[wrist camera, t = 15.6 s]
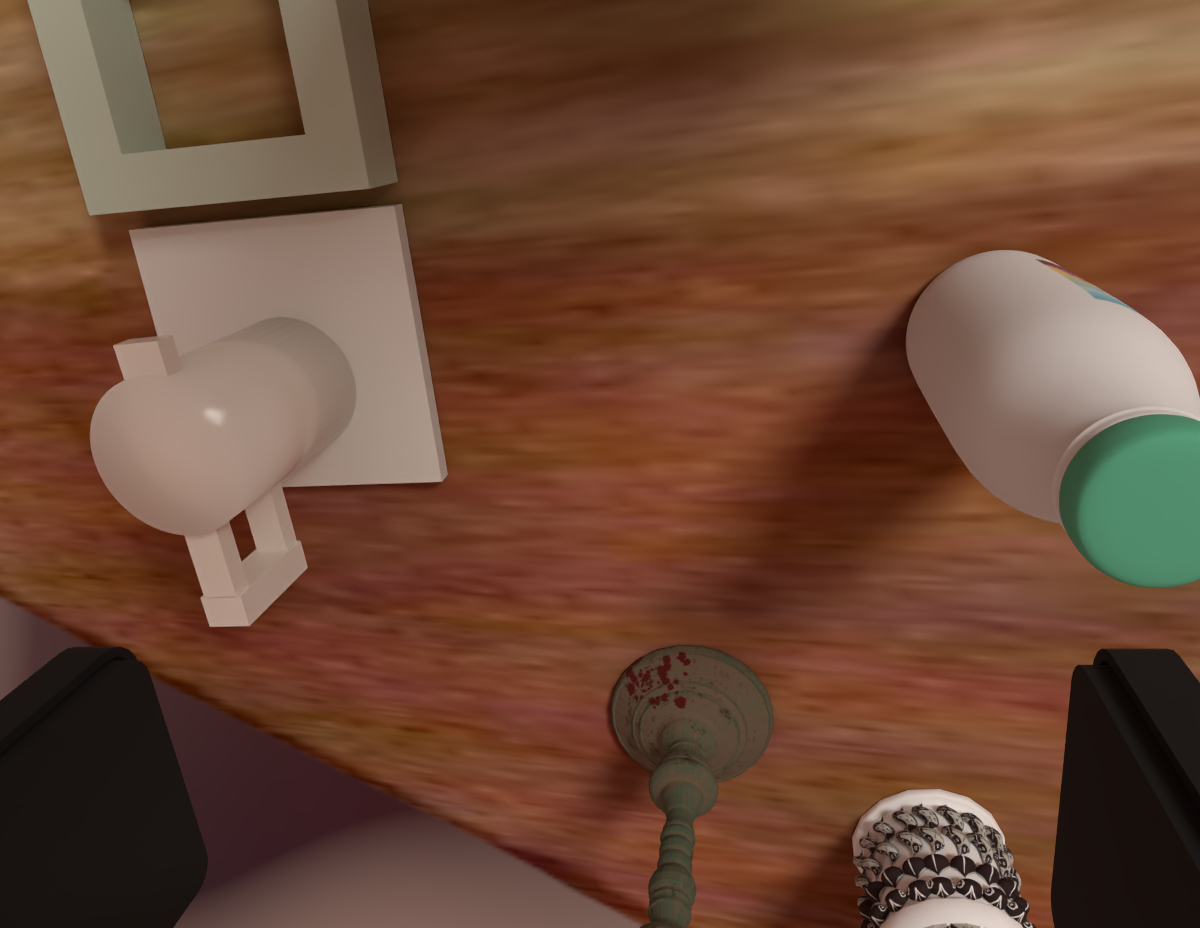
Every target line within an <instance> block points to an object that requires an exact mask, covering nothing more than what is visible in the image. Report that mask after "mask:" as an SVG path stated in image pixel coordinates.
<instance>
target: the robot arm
mask: <svg viewBox="0 0 1200 928" xmlns="http://www.w3.org/2000/svg"><path fill="white" fill-rule="evenodd" d="M207 860H208V859H207V852H206V849H205V846H204V842H203V839H202V836H201V833H200V830H199V827H198V824H197V820H196V818H195V814H194V811H193V808H192V805H191V802H190V799H189V795H188V792H187V789H186V786H185V783H184V780H183V777H182V773H181V770H180V767H179V765H178V761H177V758H176V755H175V751H174V748H173V745H172V742H171V739H170V736H169V733H168V729H167V726H166V723H165V720H164V717H163V714H162V711H161V707H160V704H159V702H158V699H157V695H156V692H155V689H154V685H153V682H152V679H151V676H150V673H149V671H148V669H147V667H146V666H145V665H144V664H143V663H142V662H139V661H137V659H136V657H135V655H134V654H133V653H132V652H131V651H129V650H128V649H125V648H122V647H73V648H68V649H66V650H64V651H63V652H61V653H59V654H58V655H57V656H56V657H54V658H53V659H52V660H51V661H49V662H48V663H47V664H46V665H44V666H43V667H42V668H41V669H39V670H38V671H37V672H35V673H34V674H33V675H32V676H30V677H29V678H28V679H27V680H26V681H24V682H23V683H22V684H20V685H19V686H18V687H17V688H15V689H14V690H13V691H12V692H11V693H9V694H8V695H7V696H5V697H4V698H3V699H2V700H0V928H173V927H174V926H175V924H176V923H177V922H178V920H179V919H180V917H181V916H182V914H183V913H184V911H185V910H186V909H187V907H188V906H189V904H190V903H191V902H192V900H193V899H194V897H195V896H196V895H197V893H198V891H199V890H200V888H201V886H202V884H203V881H204V878H205V876H206V871H207ZM1051 908H1052V916H1053V922H1054V926H1055V928H1200V683H1199V681H1198V680H1197V679H1196V677H1195V676H1194V675H1193V673H1192V672H1191V671H1190V669H1189V668H1188V667H1187V665H1186V664H1185V663H1184V661H1183V660H1182V659H1181V657H1180V656H1179V655H1178V654H1177V653H1176V652H1175V651H1174V650H1170V649H1101V650H1099V651H1098V652H1097V654H1096V656H1095V658H1094V662H1093V665H1078V666H1076V667H1075V669H1074V671H1073V675H1072V681H1071V691H1070V701H1069V712H1068V722H1067V732H1066V743H1065V753H1064V763H1063V773H1062V784H1061V794H1060V804H1059V815H1058V825H1057V835H1056V845H1055V856H1054V866H1053V876H1052V887H1051Z"/></svg>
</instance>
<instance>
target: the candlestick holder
mask: <svg viewBox="0 0 1200 928" xmlns="http://www.w3.org/2000/svg"><path fill="white" fill-rule="evenodd" d="M611 709H612V722H613V727H614V729H615V732H616V734H617V737H618V739H619V742H620V743H621V745H622V746H623V747H624V749H625V750H626V751H627V753H628V754H629V755H630V757H631V758H633V759H634V760H635V761H636V762H638V763H639V764H640V765H641V766H642V767H644V768H645V769H646V770H648V771H650V772H652V774H651V776H650V780H649V793H650V795H651V798H652V801H653V802H654V803H655V804H656V806H657V807H658V808H659V809H661V810H662V811H663V812H664V813H665V814H666V817H667V819H666V823H665V825H664V827H663V831H662V833H661V836H660V841H661V845H660V848H659V855H660V857H659V860H658V863H657V870H656V871H655V872H654V873H653V875H652V877H651V879H650V881H649V885H648V889H649V899H650V901H649V909H648V916H649V919H650V921H651V923H648V924H645V925H643V926H641V927H640V928H686V927H687V926H688V924H689V923H690V920H691V910H692V905H693V903H694V900H695V896H696V887H695V882H694V879H693V877H692V876H691V872H692V863H691V862H692V858H693V847H694V845H695V837H694V829H693V821H694V819H695V818H696V817H699V816H701V815H704V814H705V813H707V812H708V811H709V810H711V808H712V807H713V805H714V804H715V803H716V800H717V797H718V785H717V782H722V781H725V780H728V779H730V778H732V777H735V776H737V775H740V774H742V773H743V772H744V771H746V770H747V769H748V768H749V767H751V766H752V765H753V764H755V763H756V762H757V760H758V759H759V758H760V756H761V755H762V753H763V752H764V751H765V749H766V748H767V745H768V742H769V739H770V736H771V733H772V730H773V708H772V705H771V702H770V699H769V696H768V693H767V691H766V689H765V688H764V687H763V685H762V684H761V682H760V681H759V679H758V678H757V676H756V675H755V674H754V673H753V672H752V671H751V670H749V669H748V668H747V667H746V666H745V665H744V664H742V663H741V662H740V661H738V660H736V659H734V658H733V657H731V656H729V655H727V654H725V653H723V652H721V651H717V650H713V649H709V648H705V647H701V646H679V645H677V646H673V647H668V648H663V649H658V650H656V651H654V652H652V653H649V654H647V655H645V656H643V657H641V658H639V659H638V660H637V661H636V662H635V663H634V664H633V665H631V666H630V667H629V668H628V669H627V670H626V671H625V672H624V673H623V675H622V677H621V678H620V680H619V682H618V683H617V685H616V687H615V690H614V694H613V699H612V703H611Z"/></svg>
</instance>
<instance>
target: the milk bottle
mask: <svg viewBox="0 0 1200 928" xmlns="http://www.w3.org/2000/svg"><path fill="white" fill-rule="evenodd" d="M906 353H907V358H908V363H909V366H910V368H911V371H912V374H913V376H914V378H915V380H916V382H917V384H918V386H919V388H920V390H921V392H922V394H923V395H924V397H925V399H926V401H927V403H928V404H929V406H930V408H931V410H932V412H933V413H934V415H935V417H936V419H937V421H938V422H939V424H940V426H941V427H942V429H943V431H944V433H945V434H946V436H947V438H948V439H949V441H950V443H951V444H952V446H953V448H954V449H955V451H956V453H957V454H958V455H959V457H960V458H961V460H962V461H963V463H964V464H965V465H966V467H967V468H968V470H969V471H970V472H971V473H972V475H973V476H974V477H975V478H976V479H977V480H978V481H979V482H980V483H981V484H982V485H983V486H984V487H985V488H986V489H987V490H988V491H990V492H991V493H992V494H993V495H994V496H996V497H997V498H999V499H1000V500H1002V501H1003V502H1005V503H1006V504H1008V505H1010V506H1011V507H1013V508H1015V509H1017V510H1019V511H1021V512H1023V513H1026V514H1028V515H1031V516H1034V517H1036V518H1040V519H1043V520H1046V521H1051V522H1056V523H1060V525H1061V526H1062V528H1063V529H1064V530H1065V532H1066V533H1067V534H1068V535H1069V537H1070V539H1071V540H1072V542H1073V544H1074V545H1075V546H1076V548H1077V549H1078V550H1079V552H1080V553H1081V554H1082V555H1083V556H1084V557H1085V559H1086V560H1087V561H1088V562H1089V563H1090V564H1091V565H1093V566H1094V567H1095V568H1096V569H1098V570H1099V571H1101V572H1102V573H1104V574H1106V575H1108V576H1110V577H1112V578H1113V579H1116V580H1118V581H1120V582H1123V583H1126V584H1129V585H1134V586H1138V587H1146V588H1167V587H1175V586H1180V585H1185V584H1188V583H1192V582H1195V581H1197V580H1200V398H1199V394H1198V390H1197V386H1196V382H1195V380H1194V377H1193V374H1192V372H1191V370H1190V368H1189V366H1188V365H1187V363H1186V361H1185V359H1184V357H1183V356H1182V354H1181V353H1180V351H1179V350H1178V348H1177V347H1176V346H1175V345H1174V344H1173V343H1172V342H1171V341H1170V339H1169V338H1168V337H1167V336H1166V335H1165V334H1164V333H1163V332H1162V331H1161V330H1160V329H1159V328H1158V327H1157V326H1155V325H1154V324H1153V323H1152V322H1150V321H1149V320H1147V319H1146V318H1145V317H1143V316H1142V315H1140V314H1139V313H1138V312H1136V311H1135V310H1133V309H1132V308H1131V307H1129V306H1128V305H1126V304H1124V303H1123V302H1121V301H1119V300H1118V299H1116V298H1114V297H1113V296H1111V295H1109V294H1108V293H1106V292H1104V291H1103V290H1101V289H1099V288H1098V287H1096V286H1094V285H1092V284H1091V283H1089V282H1087V281H1085V280H1084V279H1082V278H1080V277H1078V276H1077V275H1075V274H1073V273H1071V272H1069V271H1068V270H1066V269H1064V268H1062V267H1060V266H1059V265H1057V264H1055V263H1053V262H1051V261H1049V260H1047V259H1044V258H1042V257H1040V256H1037V255H1034V254H1031V253H1027V252H1022V251H1015V250H997V251H989V252H984V253H980V254H977V255H973V256H971V257H968V258H966V259H963V260H961V261H959V262H957V263H955V264H954V265H952V266H951V267H949V268H947V269H946V270H945V271H943V272H942V273H941V274H940V275H938V276H937V277H936V278H935V279H934V280H933V281H932V282H931V283H930V284H929V285H928V286H927V288H926V289H925V290H924V291H923V293H922V294H921V296H920V297H919V299H918V301H917V302H916V304H915V306H914V308H913V311H912V313H911V316H910V319H909V322H908V327H907V332H906Z"/></svg>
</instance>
